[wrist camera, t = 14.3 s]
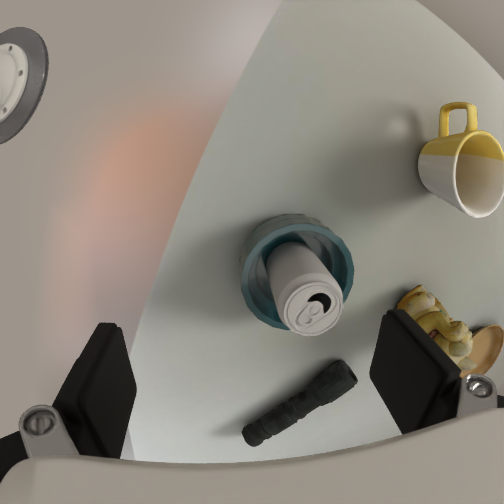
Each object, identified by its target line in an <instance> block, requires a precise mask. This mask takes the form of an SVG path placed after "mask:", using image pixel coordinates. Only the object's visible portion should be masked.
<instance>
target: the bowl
mask: <svg viewBox="0 0 504 504" xmlns="http://www.w3.org/2000/svg"><path fill="white" fill-rule="evenodd" d="M286 242H300V243H303V244H305V245H307V246H308V247H310V248H311V249H312V251H313V252H314V253H315V254H316V256H317V257H318V258H319V260H320V261H321V262H322V264H323V265H324V266H325V267H326V269H327V270H328V271H329V273H330V274H331V275H332V277H333V278H334V279H335V280H336V282H337V283H338V285H339V286H340V288H341V291H342V295H343V303H344V302H345V301H346V299H347V296H348V294H349V292H350V290H351V287H352V284H353V276H354V266H353V261H352V257H351V254H350V252H349V250H348V248H347V247H346V245H345V244H344V242H343V240H342V239H341V238H340V237H338V236H337V235H336V234H335V233H334V232H332V231H331V230H330V229H329V228H328V227H326V226H325V225H324V224H322V223H321V222H320V221H318V220H317V219H315V218H312V217H309V216H305V215H302V214H285V215H281V216H278V217H275V218H272V219H269V220H267V221H266V222H265V223H263V224H262V225H260V226H259V227H258V228H256V229H255V230H254V231H253V232H252V234H251V235H250V237H249V238H248V239H247V241H246V242H245V244H244V247H243V250H242V253H241V256H240V280H241V291H242V294H243V296H244V299H245V302H246V304H247V306H248V308H249V309H250V310H251V311H252V312H253V313H254V315H255V316H256V317H257V318H258V319H260V320H261V321H263V322H265V323H267V324H268V325H270V326H272V327H275V328H280V329H285V330H290V329H289V328H288V327H287V326H286V325H285V324H284V323H283V322H282V321H281V319H280V317H279V314H278V311H277V307H276V304H275V300H274V297H273V294H272V290H271V287H270V283H269V280H268V277H267V273H266V263H267V259H268V257H269V255H270V253H271V252H272V251H273V250H274V249H275V248H276V247H278V246H279V245H281V244H283V243H286Z"/></svg>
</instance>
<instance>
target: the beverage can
mask: <svg viewBox="0 0 504 504" xmlns="http://www.w3.org/2000/svg"><path fill="white" fill-rule="evenodd" d="M266 273H267V277H268V280H269V283H270V287H271V290H272V294H273V297H274V300H275V304H276V307H277V311H278V314H279V317H280V319H281V321H282V322H283V323H284V324H285V325H286V326H287V327H288V328H289V329H290V330H292V331H293V332H295V333H296V334H299V335H302V336H315V335H319V334H322V333H324V332H326V331H328V330H329V329H331V328H332V327H333V326H334V325H335V324H336V323H337V322H338V320H339V318H340V316H341V314H342V311H343V295H342V291H341V288H340V286H339V285H338V283H337V282H336V280H335V279H334V278H333V277H332V275H331V274H330V273H329V271H328V270H327V269H326V267H325V266H324V265H323V264H322V262H321V261H320V260H319V258H318V257H317V256H316V254H315V253H314V252H313V251H312V249H311V248H310V247H308V246H307V245H305V244H303V243H300V242H286V243H283V244H281V245H279V246H278V247H276V248H275V249H274V250H273V251H272V252H271V253H270V255H269V257H268V259H267V263H266Z"/></svg>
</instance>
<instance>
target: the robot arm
mask: <svg viewBox="0 0 504 504" xmlns="http://www.w3.org/2000/svg"><path fill="white" fill-rule="evenodd" d="M27 77H28V60H27V56H26V54H25V52H24V51H23V49H22V48H21V47H19V46H17V45H15V44H8V43H7V44H3V45H0V123H1V122H3V121H4V120H5V119H6V118H7V117H8V116H9V115H10V114H11V113H12V112H13V110H14V109H15V107H16V106H17V104H18V103H19V101H20V99H21V97H22V94H23V92H24V89H25V86H26V82H27ZM461 371H462V370H461V369H460V368H459V367H458V366H457V365H456V364H455V362H454V361H453V360H452V359H451V358H450V357H449V356H448V355H447V354H446V353H445V352H444V351H443V349H442V348H441V347H440V346H439V345H438V344H437V343H436V342H435V341H434V340H433V339H432V338H431V337H430V336H429V335H428V334H427V333H426V332H425V330H424V329H423V328H422V327H421V326H420V325H419V324H418V323H417V322H416V321H415V320H414V319H413V318H412V317H411V316H410V315H409V314H408V313H407V312H406V311H405V310H404V309H394V310H388V311H387V313H386V314H385V315H383V317H382V321H381V326H380V331H379V335H378V339H377V343H376V348H375V352H374V356H373V359H372V363H371V367H370V373H369V374H370V378H371V380H372V382H373V384H374V386H375V387H376V389H377V391H378V392H379V394H380V396H381V398H382V399H383V401H384V403H385V405H386V406H387V408H388V410H389V412H390V413H391V415H392V417H393V419H394V420H395V422H396V424H397V426H398V427H399V429H400V431H401V433H402V435H400V436H396V437H393V438H389V439H385V440H382V441H378V442H374V443H370V444H366V445H361V446H357V447H352V448H347V449H342V450H337V451H332V452H327V453H321V454H315V455H308V456H301V457H294V458H286V459H277V460H267V461H255V462H239V463H207V464H196V463H165V462H147V461H134V460H124V459H120V456H121V451H122V447H123V443H124V439H125V435H126V431H127V427H128V423H129V419H130V416H131V412H132V408H133V404H134V401H135V397H136V393H137V387H136V382H135V379H134V375H133V372H132V368H131V364H130V360H129V357H128V353H127V349H126V345H125V341H124V336H123V333H122V329H121V328H120V327H117V325H116V324H115V323H99V324H98V325H97V327H96V329H95V331H94V333H93V334H92V336H91V337H90V339H89V341H88V343H87V344H86V346H85V348H84V350H83V351H82V353H81V355H80V357H79V358H78V359H77V360H76V361H75V363H74V365H73V367H72V369H71V370H70V372H69V374H68V376H67V378H66V380H65V382H64V383H63V385H62V387H61V389H60V391H59V393H58V395H57V397H56V399H55V401H54V403H53V405H52V406H48V405H36V406H33V407H31V408H29V409H27V410H26V411H25V412H24V413H23V414H22V416H21V417H20V420H19V430H20V431H17V432H15V433H13V434H10V435H8V436H5V437H3V438H1V439H0V504H504V396H500V395H497V389H496V385H495V384H494V382H493V381H492V380H491V379H490V378H488V377H486V376H485V375H482V374H476V373H472V374H468V375H466V376H465V377H464V378H463V379H462V378H461V377H460V374H461Z"/></svg>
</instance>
